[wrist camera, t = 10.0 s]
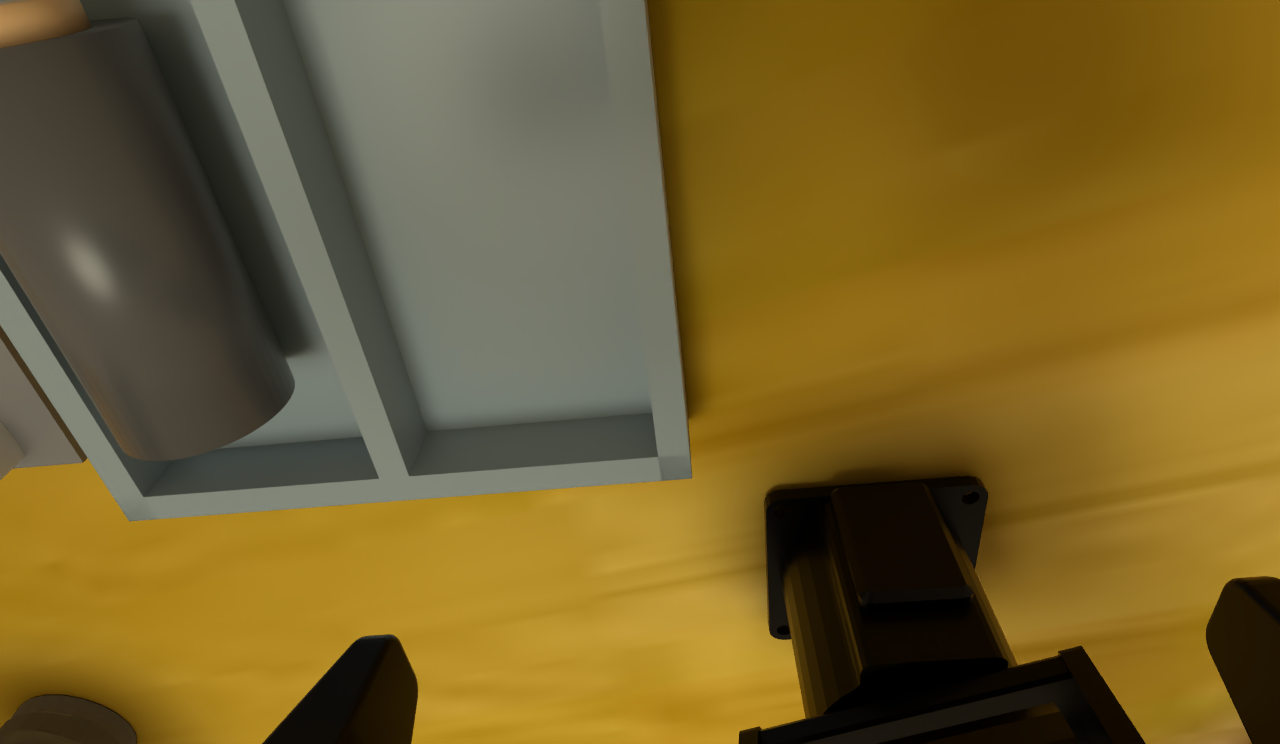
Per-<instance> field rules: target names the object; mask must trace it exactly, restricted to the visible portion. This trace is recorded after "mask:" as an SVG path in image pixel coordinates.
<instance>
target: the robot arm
mask: <svg viewBox="0 0 1280 744" xmlns="http://www.w3.org/2000/svg"><path fill="white" fill-rule="evenodd" d="M971 491H972V493H970V494H968V495H964V494H966V493H967V492H971ZM987 500H988V492H987V490H986V488H985V486H984V484H983V483H982V481H981V480H980V479H979V478H976V477H973V476H963V477H950V478H936V479H923V480H909V481H896V482H882V483H869V484H855V485H842V486H828V487H815V488H801V489H788V490H778V491H774V492H772V493H771V494H769V495H768V496H767V497H766V498H765V502H764V516H765V546H766V576H767V607H768V625H769V631H770V634H771V635H772V636H773V637H774V638H777V639H782V640H787V639H792V644H793V650H794V656H795V661H796V667H797V672H798V678H799V683H800V689H801V695H802V700H803V706H804V711H805V717H806V719H802V720H798V721H794V722H790V723H786V724H782V725H778V726H774V727H770V728H766V729H761V728H760V727H755V728H751V729H747V730H743V731H740V732H739V744H1146V743H1145V742H1144V740H1143V739H1142V737H1141V736H1140V734H1139V733H1138V731H1137V730H1136V728H1135V727H1134V725H1133V724H1132V722H1131V721H1130V719H1129V717H1128V716H1127V714H1126V713H1125V711H1124V710H1123V708H1122V707H1121V705H1120V704H1119V702H1118V701H1117V699H1116V698H1115V696H1114V695H1113V693H1112V692H1111V690H1110V688H1109V687H1108V685H1107V684H1106V682H1105V681H1104V679H1103V678H1102V676H1101V675H1100V673H1099V672H1098V670H1097V669H1096V667H1095V666H1094V664H1093V662H1092V661H1091V659H1090V658H1089V656H1088V655H1087V653H1086V652H1085V650H1084V649H1083V647H1082V646H1077V647H1073V648H1069V649H1065V650H1062V651H1058V656H1054V657H1050V658H1046V659H1042V660H1038V661H1034V662H1030V663H1026V664H1022V665H1018V664H1017V662H1016V660H1015V657H1014V655H1013V653H1012V651H1011V649H1010V647H1009V644H1008V642H1007V640H1006V638H1005V636H1004V633H1003V631H1002V629H1001V627H1000V625H999V623H998V620H997V618H996V616H995V614H994V612H993V609H992V607H991V605H990V603H989V601H988V599H987V596H986V594H985V592H984V590H983V588H982V585H981V583H980V581H979V579H978V577H977V575H976V572H975V565H976V560H977V554H978V549H979V543H980V538H981V532H982V527H983V522H984V516H985V511H986V505H987ZM781 505H785V506H786V507H785V508H781V509H780V508H777V507H778V506H781ZM1206 641H1207V645H1208V649H1209V652H1210V654H1211V656H1212V658H1213V661H1214V663H1215V665H1216V667H1217V669H1218V671H1219V673H1220V676H1221V678H1222V680H1223V682H1224V684H1225V686H1226V689H1227V691H1228V693H1229V695H1230V697H1231V699H1232V701H1233V704H1234V706H1235V708H1236V710H1237V712H1238V714H1239V716H1240V719H1241V721H1242V723H1243V725H1244V727H1245V729H1246V732H1247V734H1248V736H1249V738H1250V740H1251V742H1252V744H1280V579H1278V578H1275V577H1268V576H1262V577H1247V578H1235V579H1232V580H1230V581H1229V582H1227V583H1226V585H1225V586H1224V588H1223V590H1222V592H1221V595H1220V597H1219V599H1218V602H1217V604H1216V606H1215V608H1214V611H1213V613H1212V615H1211V618H1210V620H1209V622H1208V624H1207V628H1206ZM417 699H418V684H417V679H416V676H415V673H414V671H413V669H412V667H411V665H410V662H409V660H408V658H407V656H406V653H405V651H404V649H403V647H402V645H401V643H400V641H399V639H398V638H397V637H395V636H394V635H374V636H365V637H361V638H359V639H358V640H356V641H355V642H354V643H353V644H352V645H351V646H350V647H349V648H348V649H347V650H346V651H345V653H344V654H343V655H342V656H341V657H340V658H339V659H338V660H337V661H336V662H335V664H334V665H333V666H332V667H331V668H330V669H329V670H328V671H327V672H326V674H325V675H324V676H323V677H322V678H321V679H320V680H319V681H318V682H317V683H316V685H315V686H314V687H313V688H312V689H311V690H310V691H309V692H308V693H307V695H306V696H305V697H304V698H303V699H302V700H301V701H300V702H299V703H298V704H297V706H296V707H295V708H294V709H293V710H292V711H291V712H290V713H289V714H288V716H287V717H286V718H285V719H284V720H283V721H282V722H281V723H280V724H279V725H278V727H277V728H276V729H275V730H274V731H273V732H272V733H271V734H270V735H269V737H268V738H267V739H266V740H265V741H264V742H263V743H262V744H411V742H412V735H413V728H414V721H415V713H416V706H417Z"/></svg>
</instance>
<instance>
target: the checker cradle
mask: <svg viewBox="0 0 1280 744" xmlns="http://www.w3.org/2000/svg"><path fill="white" fill-rule="evenodd" d="M87 458H88V457H87V456H86V454H85V453H84V451H83V450H82V448H81V447H80V445H79V444H78V442H77V441H76V439H75V438H74V436H73V435H72V433H71V432H70V430H69V429H68V427H67V426H66V424H65V423H64V421H63V420H62V418H61V416H60V415H59V413H58V412H57V410H56V409H55V407H54V406H53V404H52V403H51V401H50V400H49V398H48V397H47V395H46V394H45V392H44V391H43V389H42V388H41V386H40V385H39V383H38V382H37V380H36V378H35V377H34V375H33V374H32V372H31V371H30V369H29V368H28V366H27V365H26V363H25V362H24V360H23V359H22V357H21V356H20V354H19V353H18V351H17V350H16V348H15V347H14V345H13V344H12V342H11V341H10V339H9V337H8V336H7V334H6V333H5V331H4V330H3V328H2V327H1V325H0V480H1V479H2V478H3V477H4V476H5V475H6V474H7V473H8V472H9V471H11V470H12V469H13V468H24V467H36V466H48V465H60V464H73V463H83V462H84V461H85V460H86V459H87Z"/></svg>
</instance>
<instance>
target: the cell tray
mask: <svg viewBox="0 0 1280 744" xmlns="http://www.w3.org/2000/svg"><path fill="white" fill-rule="evenodd" d="M0 1H4V0H0ZM80 2H81V4H82V7H83V9H84V11H85V13H86V15H87V17H88V19H89V21H94V20H103V19H113V18H138V19H139V22H140V24H141V26H142V29H143V31H144V33H145V35H146V38H147V40H148V42H149V45H150V47H151V49H152V52H153V54H154V56H155V59H156V61H157V63H158V65H159V68H160V70H161V72H162V75H163V77H164V79H165V82H166V84H167V86H168V88H169V91H170V93H171V95H172V98H173V100H174V102H175V105H176V107H177V109H178V112H179V114H180V116H181V118H182V121H183V123H184V125H185V128H186V130H187V132H188V135H189V137H190V139H191V141H192V144H193V146H194V148H195V151H196V153H197V155H198V158H199V160H200V162H201V165H202V167H203V169H204V171H205V174H206V176H207V178H208V181H209V183H210V185H211V188H212V190H213V192H214V195H215V197H216V199H217V201H218V204H219V206H220V208H221V211H222V213H223V215H224V218H225V220H226V222H227V224H228V227H229V229H230V231H231V234H232V236H233V238H234V241H235V243H236V245H237V248H238V250H239V252H240V254H241V257H242V259H243V261H244V264H245V266H246V268H247V271H248V273H249V275H250V277H251V280H252V282H253V284H254V287H255V289H256V291H257V294H258V296H259V298H260V301H261V303H262V305H263V307H264V310H265V312H266V314H267V317H268V319H269V321H270V324H271V326H272V328H273V331H274V333H275V335H276V337H277V340H278V342H279V344H280V347H281V349H282V351H283V354H284V356H285V358H286V360H287V363H288V365H289V367H290V370H291V372H292V374H293V377H294V380H295V389H294V392H293V394H292V396H291V398H290V400H289V401H288V403H287V404H286V405H285V406H284V408H283V409H282V410H281V411H280V412H279V413H278V414H277V415H275V416H274V417H273V418H272V419H271V420H269V421H268V422H267V423H266V424H264V425H263V426H261V427H260V428H258V429H257V430H255V431H253V432H252V433H250V434H248V435H246V436H245V437H243V438H241V439H239V440H237V441H235V442H233V443H230V444H228V445H226V446H223V447H221V448H218V449H215V450H213V451H210V452H207V453H203V454H200V455H196V456H192V457H188V458H183V459H177V460H170V461H145V460H139V459H136V458H133V457H131V456H129V455H127V454H126V453H125V452H124V451H123V450H122V449H121V447H120V446H119V444H118V442H117V441H116V439H115V437H114V436H113V434H112V433H111V431H110V429H109V428H108V426H107V425H106V423H105V421H104V420H103V418H102V417H101V415H100V413H99V412H98V410H97V408H96V407H95V405H94V404H93V402H92V400H91V399H90V397H89V396H88V394H87V392H86V391H85V389H84V388H83V386H82V384H81V383H80V381H79V379H78V378H77V376H76V375H75V373H74V371H73V370H72V368H71V367H70V365H69V363H68V362H67V360H66V359H65V357H64V355H63V354H62V352H61V350H60V349H59V347H58V346H57V344H56V342H55V341H54V339H53V338H52V336H51V334H50V333H49V331H48V330H47V328H46V326H45V325H44V323H43V321H42V320H41V318H40V317H39V315H38V313H37V312H36V310H35V309H34V307H33V305H32V304H31V302H30V301H29V299H28V297H27V296H26V294H25V292H24V291H23V289H22V288H21V286H20V284H19V283H18V281H17V280H16V278H15V276H14V275H13V273H12V272H11V270H10V268H9V267H8V265H7V263H6V262H5V260H4V259H3V257H2V255H1V254H0V325H1V327H2V328H3V330H4V331H5V333H6V334H7V336H8V337H9V339H10V341H11V342H12V344H13V345H14V347H15V348H16V350H17V351H18V353H19V354H20V356H21V357H22V359H23V360H24V362H25V363H26V365H27V366H28V368H29V369H30V371H31V372H32V374H33V375H34V377H35V378H36V380H37V382H38V383H39V385H40V386H41V388H42V389H43V391H44V392H45V394H46V395H47V397H48V398H49V400H50V401H51V403H52V404H53V406H54V407H55V409H56V410H57V412H58V413H59V415H60V416H61V418H62V420H63V421H64V423H65V424H66V426H67V427H68V429H69V430H70V432H71V433H72V435H73V436H74V438H75V439H76V441H77V442H78V444H79V445H80V447H81V448H82V450H83V451H84V453H85V454H86V456H87V457H88V459H89V461H90V462H91V464H92V465H93V467H94V468H95V470H96V471H97V473H98V474H99V476H100V477H101V479H102V480H103V482H104V483H105V485H106V486H107V488H108V489H109V491H110V492H111V494H112V495H113V497H114V498H115V500H116V502H117V503H118V505H119V506H120V508H121V509H122V511H123V512H124V514H125V515H126V517H127V518H128V520H129V521H138V520H151V519H164V518H178V517H191V516H204V515H217V514H230V513H243V512H257V511H270V510H283V509H296V508H309V507H322V506H335V505H349V504H362V503H375V502H388V501H401V500H414V499H427V498H441V497H454V496H467V495H480V494H493V493H506V492H520V491H533V490H546V489H559V488H572V487H585V486H598V485H612V484H625V483H638V482H651V481H664V480H677V479H690V478H692V470H691V454H690V438H689V423H688V412H687V401H686V391H685V381H684V371H683V361H682V351H681V340H680V330H679V320H678V310H677V300H676V289H675V279H674V269H673V259H672V249H671V239H670V228H669V218H668V208H667V198H666V188H665V178H664V167H663V157H662V147H661V137H660V127H659V117H658V106H657V96H656V86H655V76H654V66H653V56H652V45H651V35H650V25H649V15H648V5H647V0H80Z"/></svg>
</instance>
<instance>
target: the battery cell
mask: <svg viewBox="0 0 1280 744" xmlns="http://www.w3.org/2000/svg"><path fill="white" fill-rule="evenodd" d="M0 254H1V255H2V257H3V259H4V260H5V262H6V263H7V265H8V267H9V268H10V270H11V272H12V273H13V275H14V276H15V278H16V280H17V281H18V283H19V284H20V286H21V288H22V289H23V291H24V292H25V294H26V296H27V297H28V299H29V301H30V302H31V304H32V305H33V307H34V309H35V310H36V312H37V313H38V315H39V317H40V318H41V320H42V321H43V323H44V325H45V326H46V328H47V330H48V331H49V333H50V334H51V336H52V338H53V339H54V341H55V342H56V344H57V346H58V347H59V349H60V350H61V352H62V354H63V355H64V357H65V359H66V360H67V362H68V363H69V365H70V367H71V368H72V370H73V371H74V373H75V375H76V376H77V378H78V379H79V381H80V383H81V384H82V386H83V388H84V389H85V391H86V392H87V394H88V396H89V397H90V399H91V400H92V402H93V404H94V405H95V407H96V408H97V410H98V412H99V413H100V415H101V417H102V418H103V420H104V421H105V423H106V425H107V426H108V428H109V429H110V431H111V433H112V434H113V436H114V437H115V439H116V441H117V442H118V444H119V446H120V447H121V449H122V450H123V451H124V452H125V453H126V454H127V455H129V456H131V457H133V458H136V459H139V460H145V461H170V460H177V459H183V458H188V457H192V456H196V455H200V454H203V453H207V452H210V451H213V450H215V449H218V448H221V447H223V446H226V445H228V444H230V443H233V442H235V441H237V440H239V439H241V438H243V437H245V436H246V435H248V434H250V433H252V432H253V431H255V430H257V429H258V428H260V427H261V426H263V425H264V424H266V423H267V422H268V421H269V420H271V419H272V418H273V417H274V416H275V415H277V414H278V413H279V412H280V411H281V410H282V409H283V408H284V406H285V405H286V404H287V403H288V401H289V400H290V398H291V396H292V394H293V392H294V389H295V380H294V377H293V374H292V372H291V370H290V367H289V365H288V363H287V360H286V358H285V356H284V354H283V351H282V349H281V347H280V344H279V342H278V340H277V337H276V335H275V333H274V331H273V328H272V326H271V324H270V321H269V319H268V317H267V314H266V312H265V310H264V307H263V305H262V303H261V301H260V298H259V296H258V294H257V291H256V289H255V287H254V284H253V282H252V280H251V277H250V275H249V273H248V271H247V268H246V266H245V264H244V261H243V259H242V257H241V254H240V252H239V250H238V248H237V245H236V243H235V241H234V238H233V236H232V234H231V231H230V229H229V227H228V224H227V222H226V220H225V218H224V215H223V213H222V211H221V208H220V206H219V204H218V201H217V199H216V197H215V195H214V192H213V190H212V188H211V185H210V183H209V181H208V178H207V176H206V174H205V171H204V169H203V167H202V165H201V162H200V160H199V158H198V155H197V153H196V151H195V148H194V146H193V144H192V141H191V139H190V137H189V135H188V132H187V130H186V128H185V125H184V123H183V121H182V118H181V116H180V114H179V112H178V109H177V107H176V105H175V102H174V100H173V98H172V95H171V93H170V91H169V88H168V86H167V84H166V82H165V79H164V77H163V75H162V72H161V70H160V68H159V65H158V63H157V61H156V59H155V56H154V54H153V52H152V49H151V47H150V45H149V42H148V40H147V38H146V35H145V33H144V31H143V29H142V26H141V24H140V22H139V19H138V18H113V19H103V20H94V21H89V19H88V17H87V15H86V13H85V11H84V9H83V7H82V4H81V2H80V0H4V1H0Z"/></svg>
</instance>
